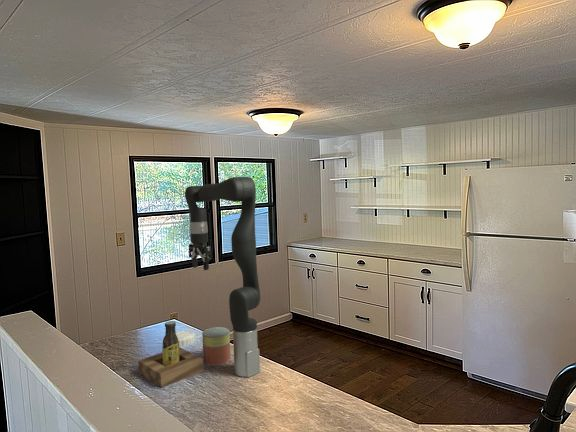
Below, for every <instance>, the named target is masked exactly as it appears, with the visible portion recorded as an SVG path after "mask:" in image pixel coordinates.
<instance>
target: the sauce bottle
mask: <svg viewBox="0 0 576 432" xmlns="http://www.w3.org/2000/svg"><path fill="white" fill-rule="evenodd" d="M164 327H165V334H164V337H163V340H162V352H163V366H165V367H166V366H168V365H171V364H174V363H177V362H179V341H178V338H177V336H176V333H177V332H176V327H177V325H176V321H173V320H172V321H171V320H169V321H166V322H165V323H164Z"/></svg>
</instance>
